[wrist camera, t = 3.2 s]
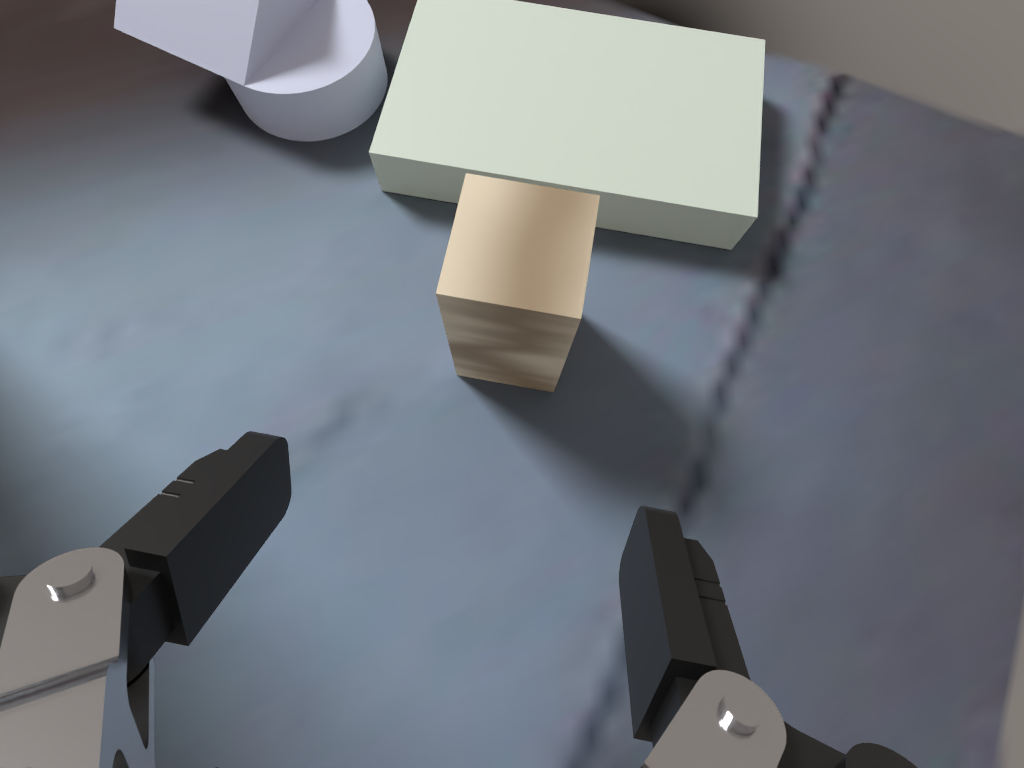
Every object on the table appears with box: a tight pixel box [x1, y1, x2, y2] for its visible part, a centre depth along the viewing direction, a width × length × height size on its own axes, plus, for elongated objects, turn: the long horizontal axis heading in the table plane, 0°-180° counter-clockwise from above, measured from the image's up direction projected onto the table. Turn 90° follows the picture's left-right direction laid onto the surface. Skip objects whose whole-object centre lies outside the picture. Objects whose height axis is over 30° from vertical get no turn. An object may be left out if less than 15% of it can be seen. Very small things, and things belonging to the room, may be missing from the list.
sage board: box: [369, 0, 765, 250], centre depth 29 cm, size 20×12×3 cm, turn 80°
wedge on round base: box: [114, 0, 387, 141], centre depth 28 cm, size 9×7×13 cm
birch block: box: [436, 173, 600, 392], centre depth 22 cm, size 5×5×9 cm
